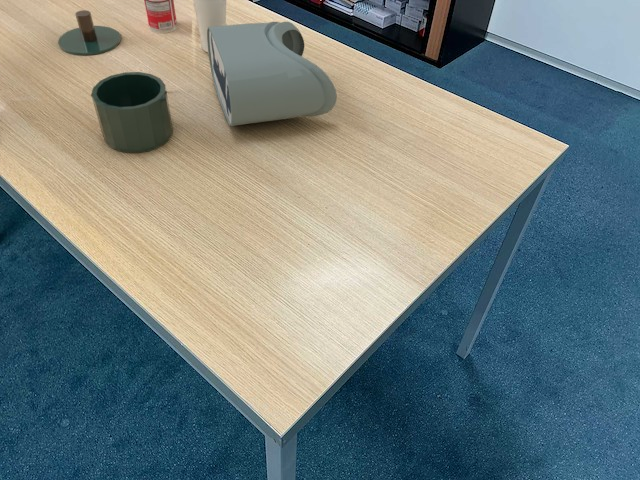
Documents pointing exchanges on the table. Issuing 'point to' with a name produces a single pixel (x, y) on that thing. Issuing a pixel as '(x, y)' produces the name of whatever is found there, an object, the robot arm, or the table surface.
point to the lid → (88, 37)
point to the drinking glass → (209, 17)
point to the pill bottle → (161, 15)
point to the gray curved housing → (266, 73)
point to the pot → (133, 111)
